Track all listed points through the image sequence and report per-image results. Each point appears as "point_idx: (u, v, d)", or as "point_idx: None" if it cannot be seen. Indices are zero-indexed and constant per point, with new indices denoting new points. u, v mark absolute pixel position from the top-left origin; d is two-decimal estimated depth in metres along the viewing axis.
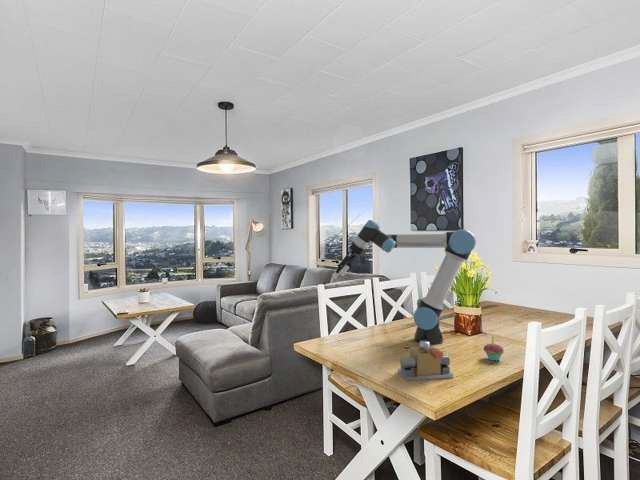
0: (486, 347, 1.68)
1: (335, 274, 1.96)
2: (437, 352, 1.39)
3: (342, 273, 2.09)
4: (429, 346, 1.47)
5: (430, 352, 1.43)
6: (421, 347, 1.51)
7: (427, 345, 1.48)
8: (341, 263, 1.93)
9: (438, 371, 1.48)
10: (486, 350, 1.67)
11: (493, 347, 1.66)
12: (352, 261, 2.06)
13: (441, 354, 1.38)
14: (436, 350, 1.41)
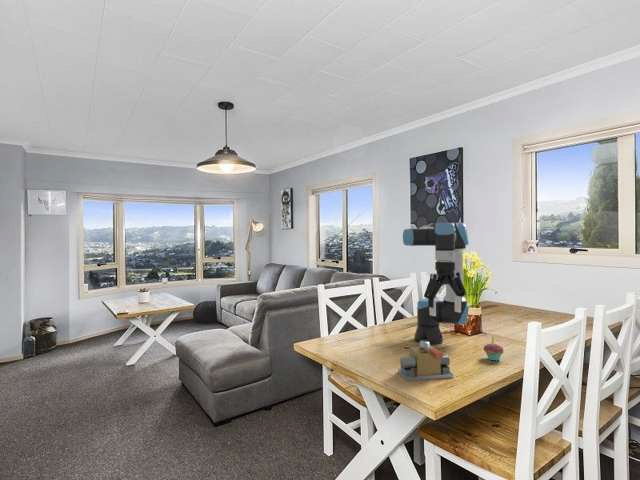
0: (486, 347, 1.68)
1: None
2: (437, 352, 1.39)
3: None
4: (429, 346, 1.47)
5: (430, 352, 1.43)
6: (421, 347, 1.51)
7: (427, 345, 1.48)
8: None
9: (438, 371, 1.48)
10: (486, 350, 1.67)
11: (493, 347, 1.66)
12: None
13: (441, 354, 1.38)
14: (436, 350, 1.41)
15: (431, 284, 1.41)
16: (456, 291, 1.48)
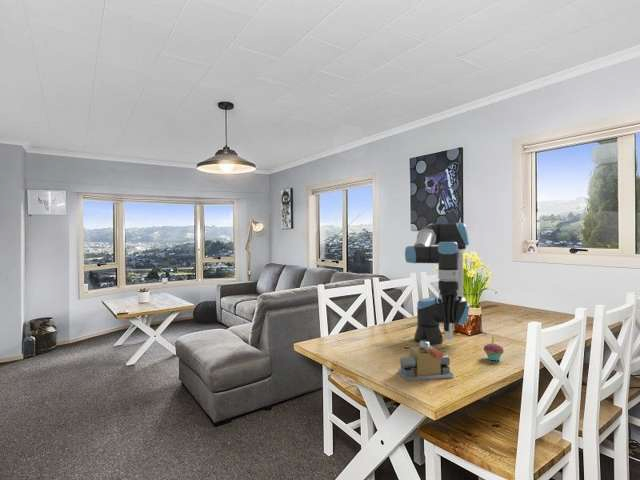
0: (486, 347, 1.68)
1: None
2: (437, 352, 1.39)
3: None
4: (429, 346, 1.47)
5: (430, 352, 1.43)
6: (421, 347, 1.51)
7: (427, 345, 1.48)
8: None
9: (438, 371, 1.48)
10: (486, 350, 1.67)
11: (493, 347, 1.66)
12: None
13: (441, 354, 1.38)
14: (436, 350, 1.41)
15: (440, 309, 1.42)
16: (450, 315, 1.45)
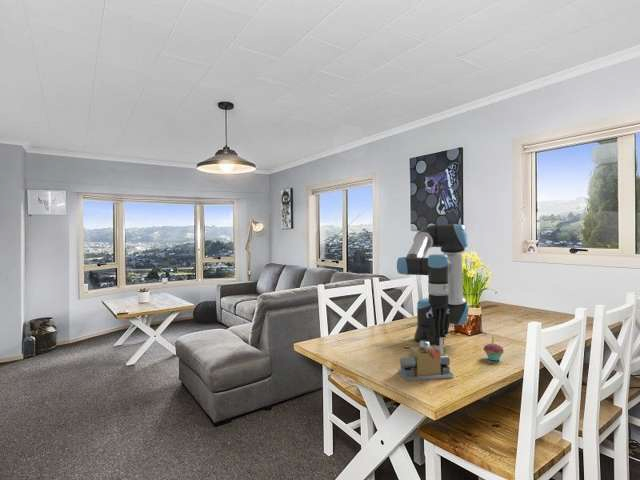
0: (486, 347, 1.68)
1: None
2: (435, 353, 1.38)
3: None
4: (428, 346, 1.47)
5: (428, 352, 1.43)
6: (421, 347, 1.51)
7: (427, 345, 1.48)
8: None
9: (438, 371, 1.48)
10: (486, 350, 1.67)
11: (493, 347, 1.66)
12: None
13: (439, 355, 1.38)
14: (434, 350, 1.41)
15: (431, 324, 1.40)
16: (440, 329, 1.42)
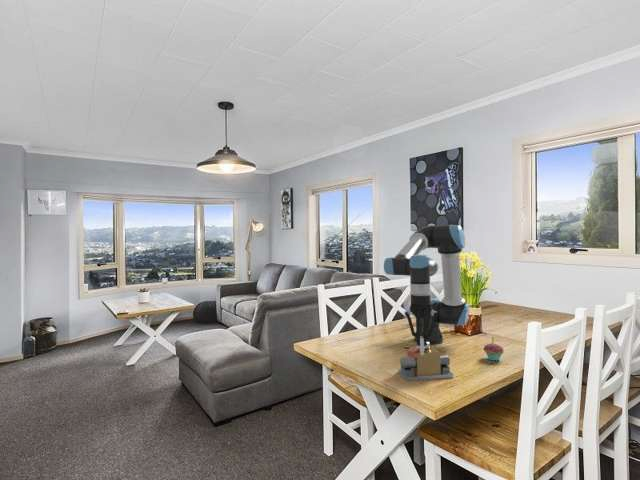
0: (486, 347, 1.68)
1: (423, 348, 1.42)
2: (410, 350, 1.42)
3: None
4: None
5: None
6: None
7: None
8: None
9: (438, 371, 1.48)
10: (486, 350, 1.67)
11: (493, 347, 1.66)
12: None
13: (413, 353, 1.40)
14: (415, 349, 1.43)
15: None
16: (423, 330, 1.42)
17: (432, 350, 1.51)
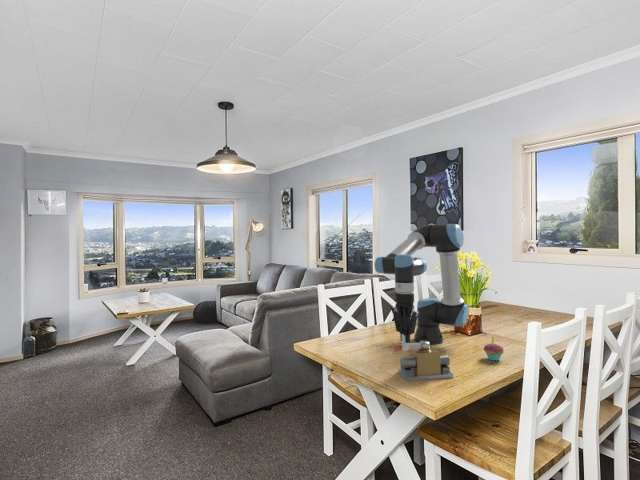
0: (486, 347, 1.68)
1: (406, 345, 1.47)
2: (394, 344, 1.50)
3: None
4: (414, 343, 1.51)
5: None
6: None
7: (417, 343, 1.51)
8: (412, 329, 1.44)
9: (438, 371, 1.48)
10: (486, 350, 1.67)
11: (493, 347, 1.66)
12: None
13: (394, 346, 1.49)
14: (401, 344, 1.50)
15: None
16: None
17: (432, 350, 1.51)
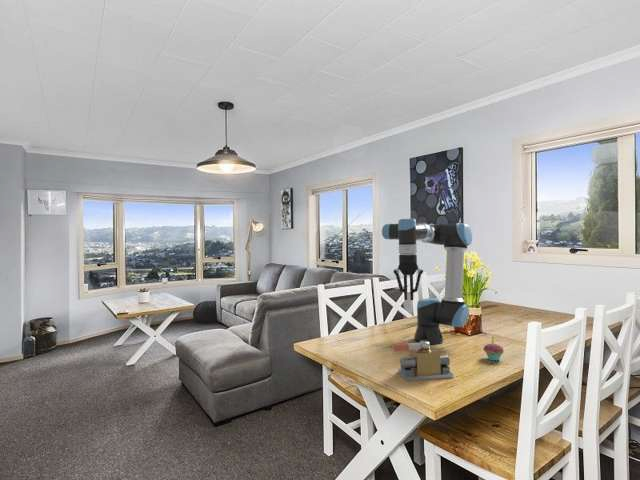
0: (486, 347, 1.68)
1: (410, 303, 1.58)
2: (394, 344, 1.50)
3: None
4: (414, 343, 1.51)
5: None
6: None
7: (417, 343, 1.51)
8: None
9: (438, 371, 1.48)
10: (486, 350, 1.67)
11: (493, 347, 1.66)
12: None
13: (394, 346, 1.49)
14: (401, 344, 1.50)
15: (397, 279, 1.59)
16: (410, 286, 1.58)
17: (432, 350, 1.51)
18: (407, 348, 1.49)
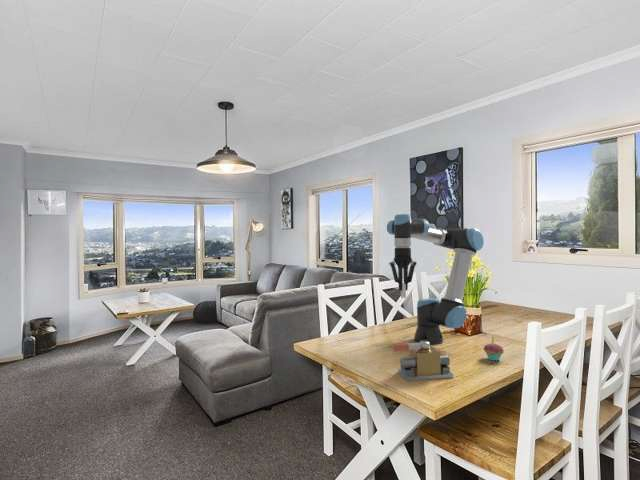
0: (486, 347, 1.68)
1: None
2: (394, 344, 1.50)
3: None
4: (414, 343, 1.51)
5: None
6: None
7: (417, 343, 1.51)
8: None
9: (438, 371, 1.48)
10: (486, 350, 1.67)
11: (493, 347, 1.66)
12: (398, 273, 1.71)
13: (394, 346, 1.49)
14: (401, 344, 1.50)
15: (393, 271, 1.68)
16: (404, 277, 1.69)
17: (432, 350, 1.51)
18: (407, 348, 1.49)
